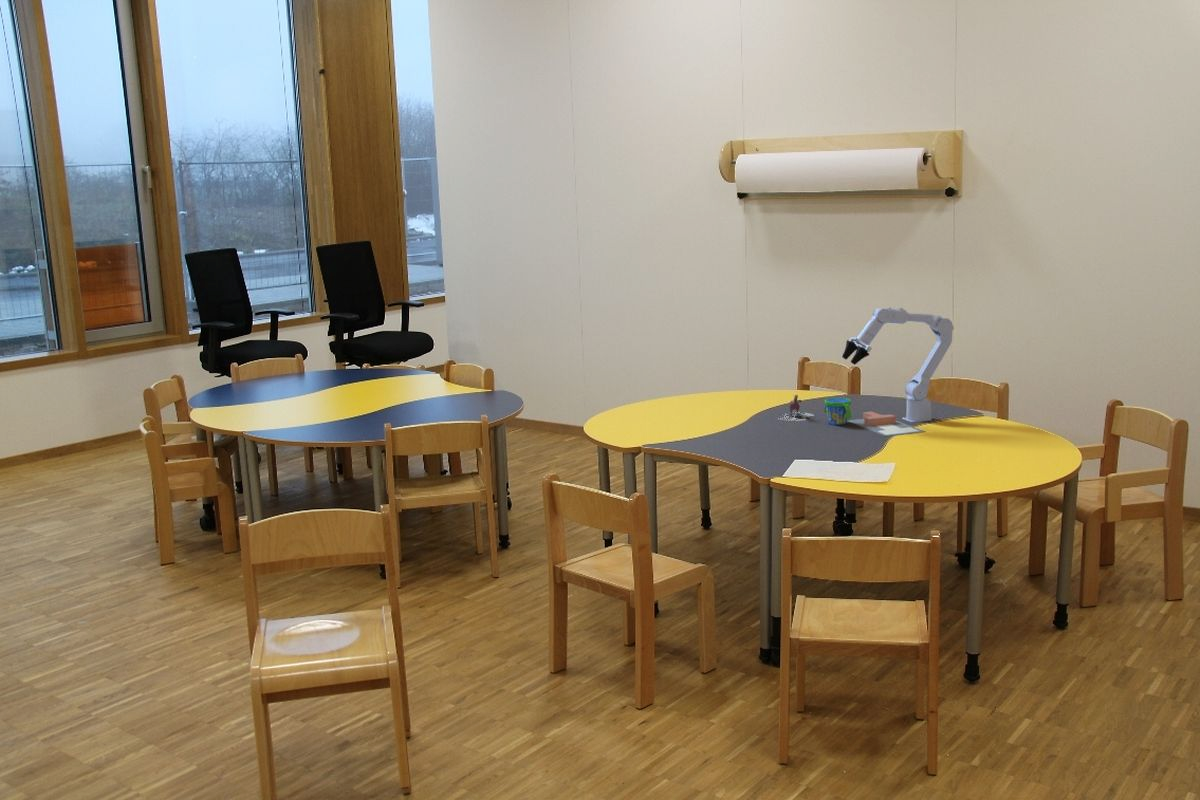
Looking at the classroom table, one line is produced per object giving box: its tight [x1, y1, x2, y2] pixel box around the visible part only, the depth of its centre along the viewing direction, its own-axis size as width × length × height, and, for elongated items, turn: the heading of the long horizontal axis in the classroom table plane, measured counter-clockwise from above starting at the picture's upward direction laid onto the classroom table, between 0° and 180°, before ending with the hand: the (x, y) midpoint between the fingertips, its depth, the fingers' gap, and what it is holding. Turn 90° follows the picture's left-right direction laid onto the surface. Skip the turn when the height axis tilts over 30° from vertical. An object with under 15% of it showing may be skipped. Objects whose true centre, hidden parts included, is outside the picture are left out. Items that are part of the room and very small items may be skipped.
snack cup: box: [823, 396, 852, 426], centre depth 464 cm, size 16×10×10 cm
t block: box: [862, 411, 897, 426], centre depth 465 cm, size 12×12×3 cm
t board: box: [847, 418, 926, 438], centre depth 458 cm, size 18×30×1 cm, turn 17°
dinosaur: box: [777, 394, 815, 422], centre depth 481 cm, size 18×18×11 cm
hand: (848, 360), depth 459 cm, fingers open, 7 cm apart
